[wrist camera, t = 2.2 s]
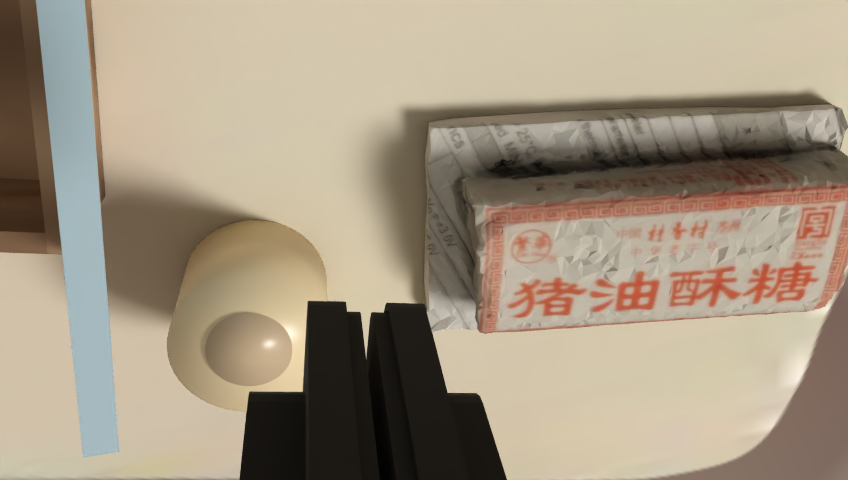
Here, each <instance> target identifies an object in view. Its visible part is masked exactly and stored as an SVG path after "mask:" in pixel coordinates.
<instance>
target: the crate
mask: <svg viewBox="0 0 848 480" xmlns="http://www.w3.org/2000/svg"><path fill="white" fill-rule="evenodd" d="M85 9H86V22H87V35H88V48H89V61H90V74H91V87H92V100H93V113H94V126H95V139H96V152H97V165H98V178H99V191H100V204H101V202H102V200H103V199H104V197H105V186H104V173H103V159H102V145H101V132H100V118H99V105H98V91H97V78H96V64H95V50H94V37H93V23H92V10H91V0H85ZM0 252H9V253H37V254H62V247H61V237H60V228H59V218H58V208H57V199H56V189H55V179H54V170H53V160H52V150H51V141H50V131H49V122H48V112H47V102H46V93H45V83H44V73H43V64H42V54H41V44H40V35H39V25H38V15H37V6H36V0H0Z"/></svg>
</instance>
